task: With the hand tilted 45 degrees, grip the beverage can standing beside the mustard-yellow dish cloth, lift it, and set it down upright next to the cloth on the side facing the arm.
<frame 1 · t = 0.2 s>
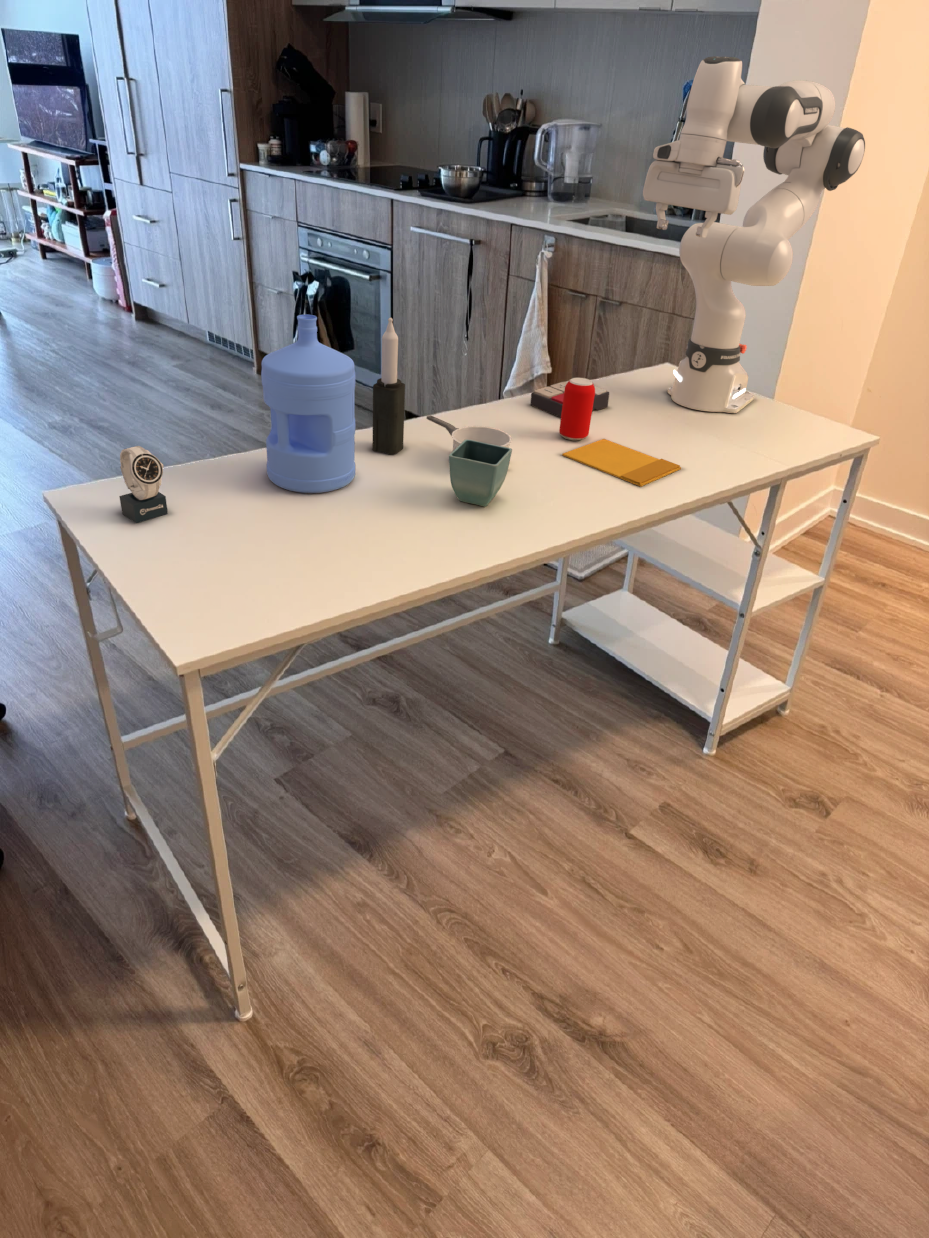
hand: (680, 233, 171), 39 cm above the table, tool pointing down, fingers open, 8 cm apart
flower pot: (476, 500, 152), on the table
saucepan: (463, 458, 168), on the table
beverage can: (573, 438, 181), on the table
candle: (387, 449, 169), on the table
water jug: (311, 477, 155), on the table
calculator: (568, 407, 198), on the table
cloth: (621, 462, 171), on the table
watch: (145, 515, 138), on the table
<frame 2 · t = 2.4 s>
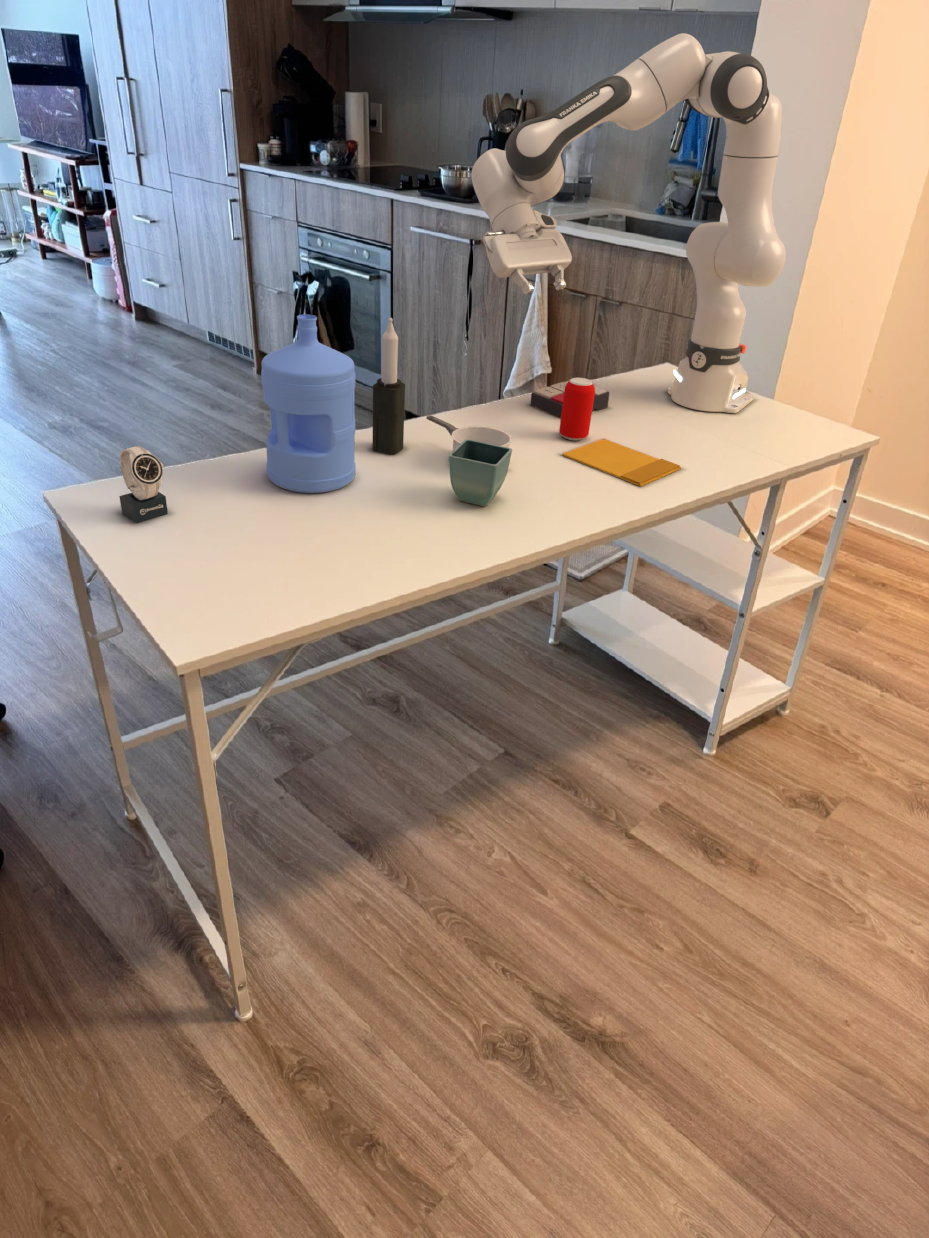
hand: (546, 290, 174), 27 cm above the table, tool tilted 45°, fingers open, 8 cm apart
nothing on the table moved.
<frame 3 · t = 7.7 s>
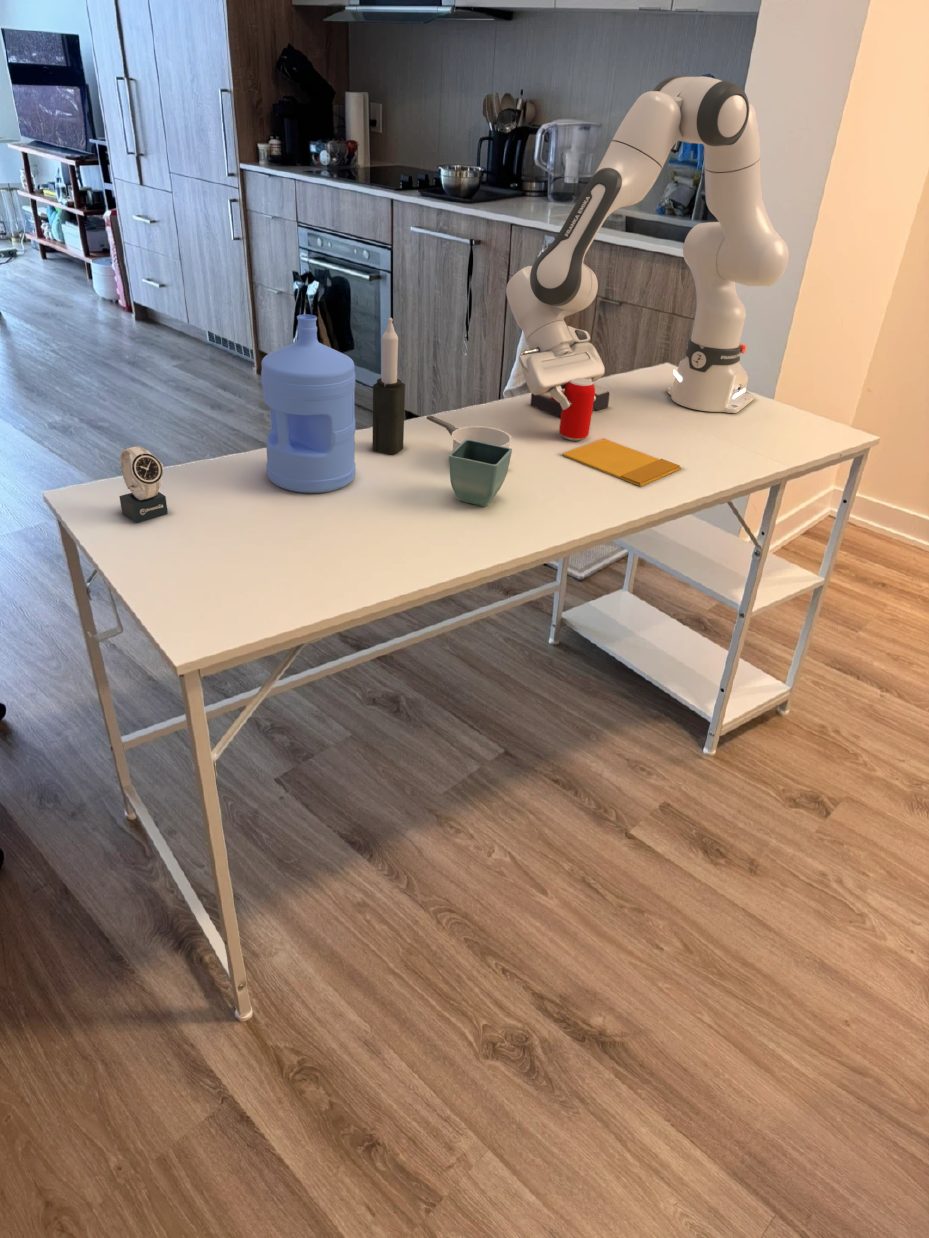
hand: (580, 405, 177), 7 cm above the table, tool tilted 45°, fingers closed on beverage can, 6 cm apart
beverage can: (573, 438, 181), on the table, touching gripper
everything else where it was.
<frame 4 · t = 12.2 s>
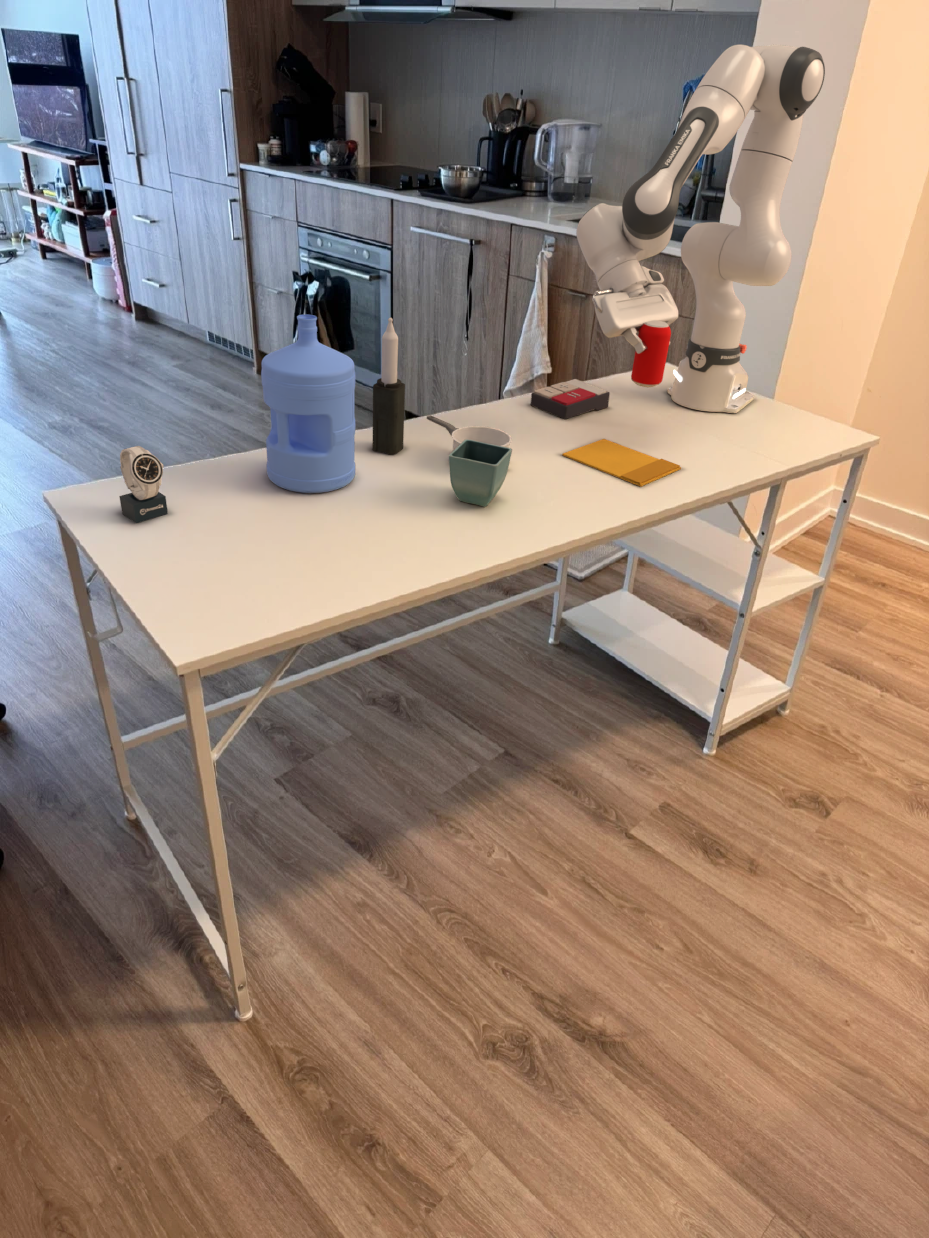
hand: (654, 349, 169), 20 cm above the table, tool tilted 45°, fingers closed on beverage can, 6 cm apart
beverage can: (645, 385, 173), point 13 cm above the table, touching gripper
everything else where it was.
when the fingers open (7 cm above the table, at t = 17.0 s): beverage can stays where it is, on the table.
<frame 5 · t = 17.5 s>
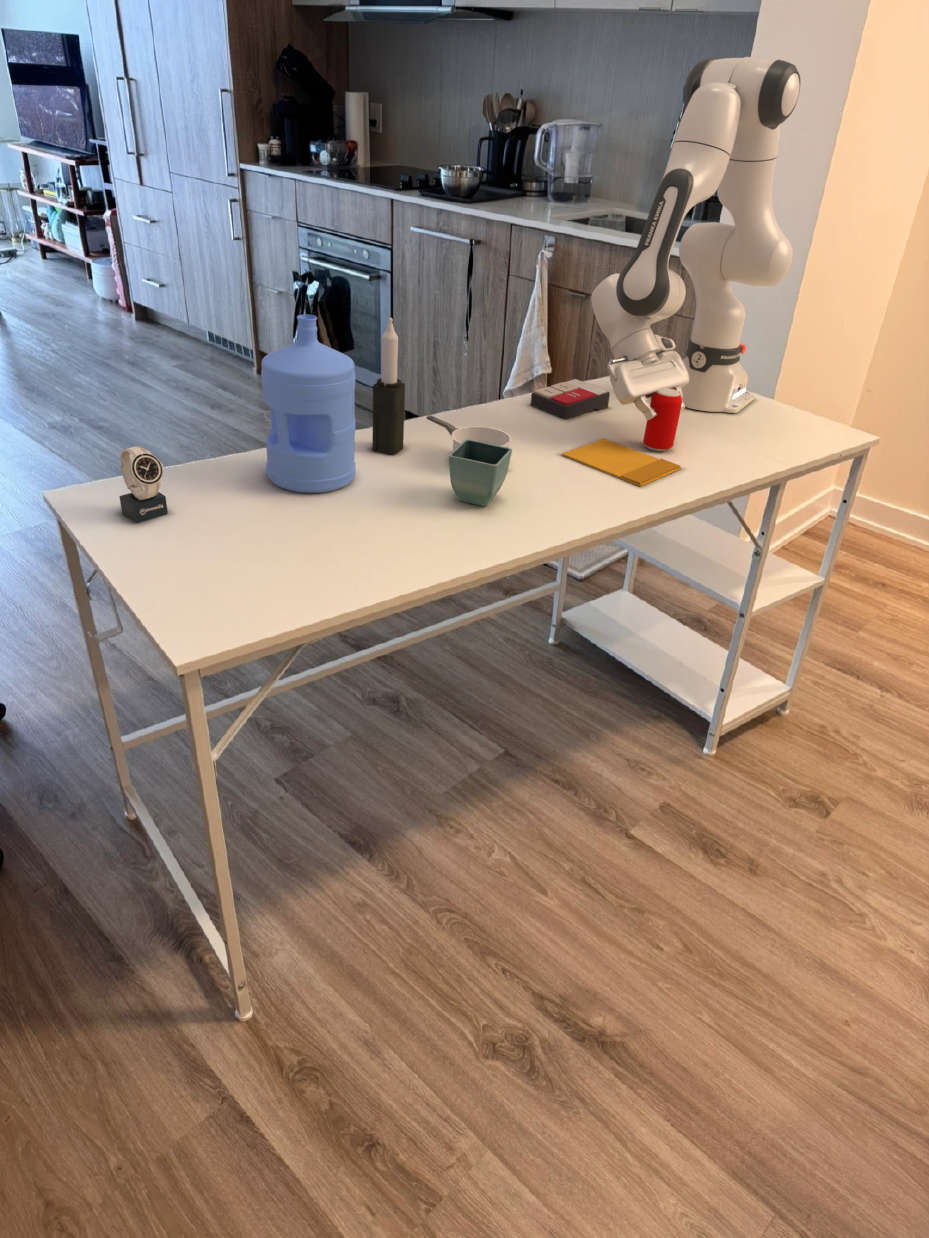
hand: (666, 414, 175), 7 cm above the table, tool tilted 45°, fingers open, 8 cm apart
beverage can: (657, 449, 179), on the table
everything else where it was.
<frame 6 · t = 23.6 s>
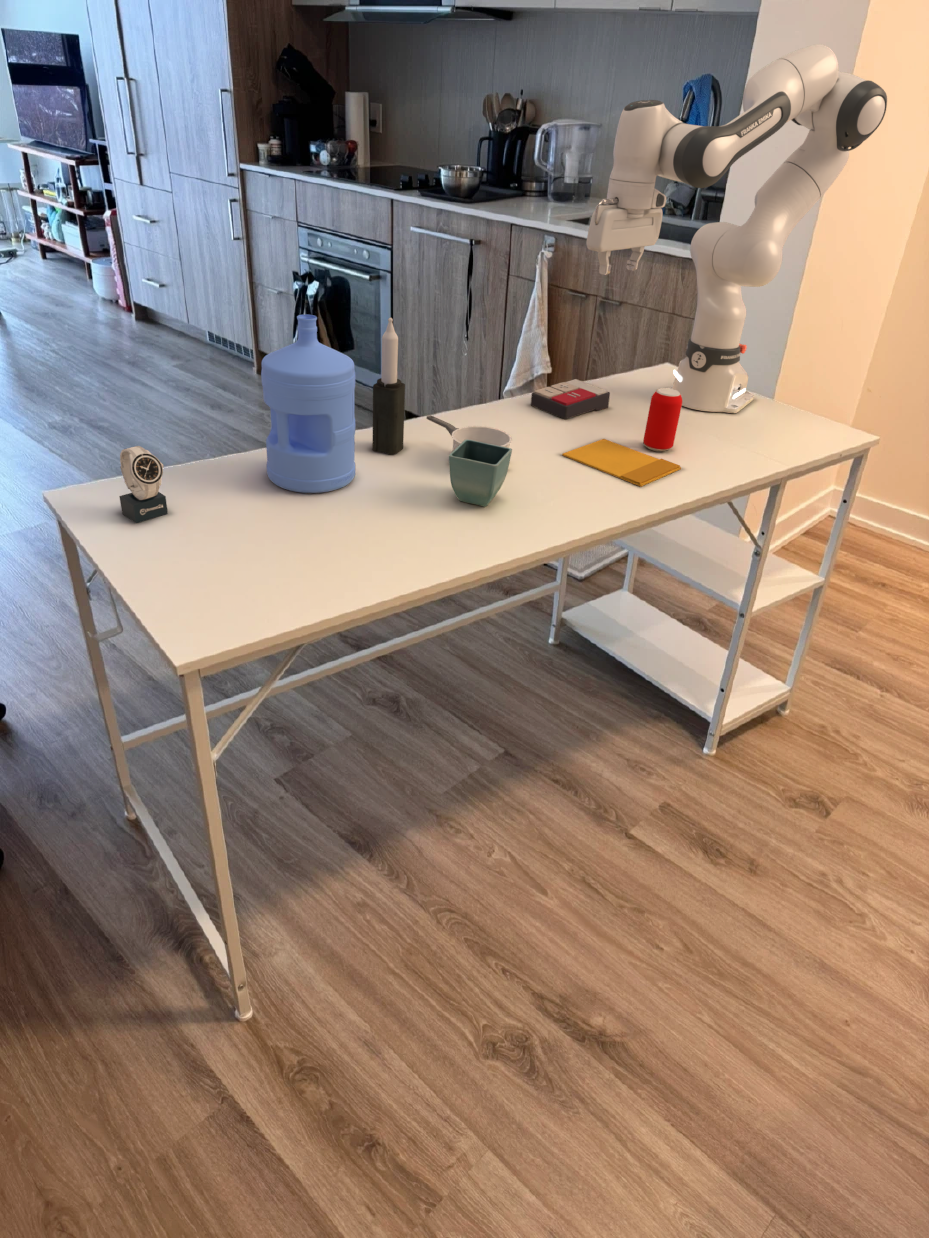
hand: (618, 272, 175), 31 cm above the table, tool pointing down, fingers open, 8 cm apart
nothing on the table moved.
at the end: beverage can inside the target area (0.4 cm from its centre), on the table; beverage can tilted 0°; the gripper is holding nothing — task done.
